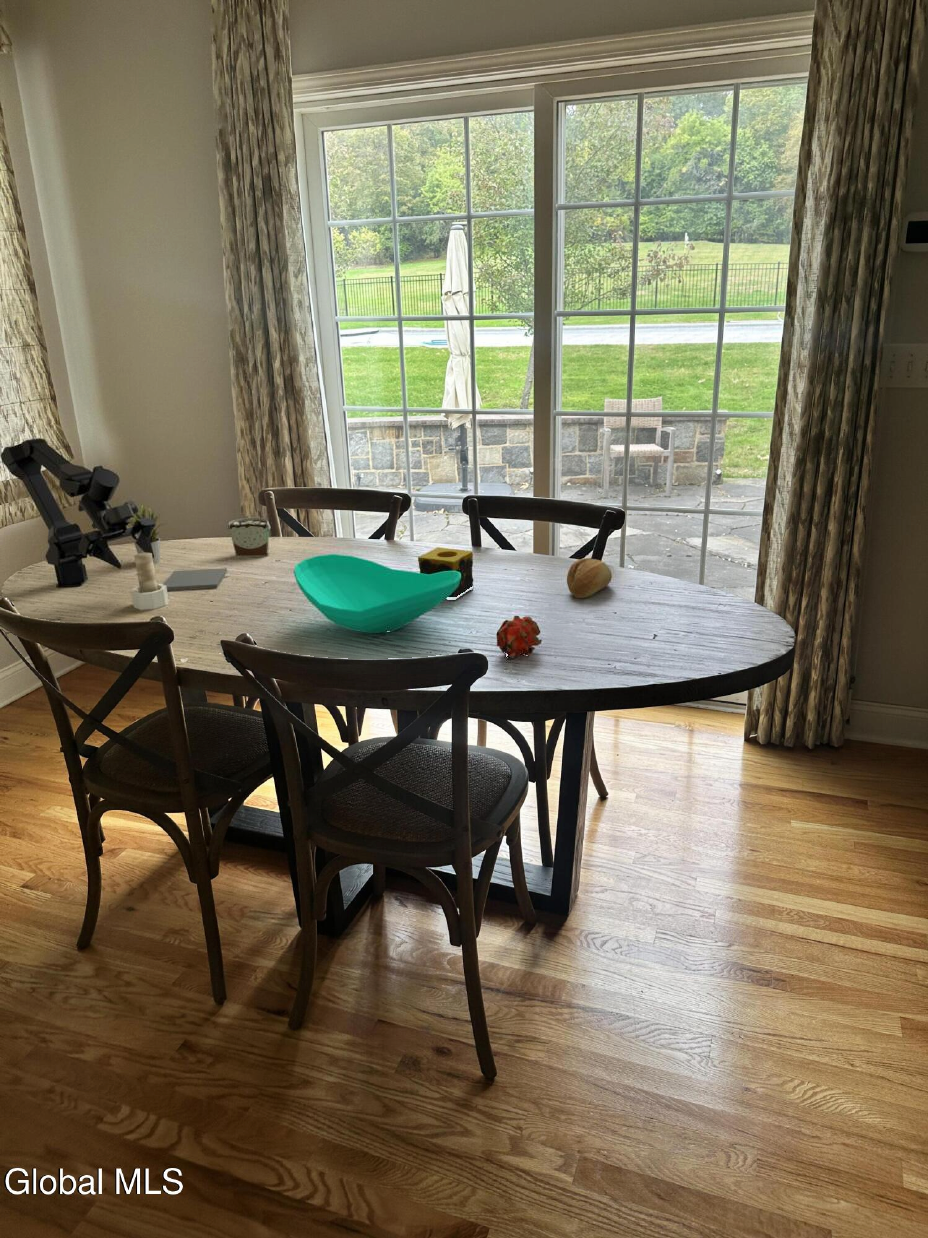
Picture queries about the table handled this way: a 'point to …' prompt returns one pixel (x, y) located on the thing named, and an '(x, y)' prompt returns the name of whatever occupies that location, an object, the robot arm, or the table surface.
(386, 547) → the table surface
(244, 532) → the food container
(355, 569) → the table top decor
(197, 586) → the rubber mat
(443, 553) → the candle
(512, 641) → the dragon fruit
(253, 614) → the table surface
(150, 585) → the birch peg
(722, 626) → the table surface
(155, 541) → the house plant
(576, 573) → the bread roll
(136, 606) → the holder cup
